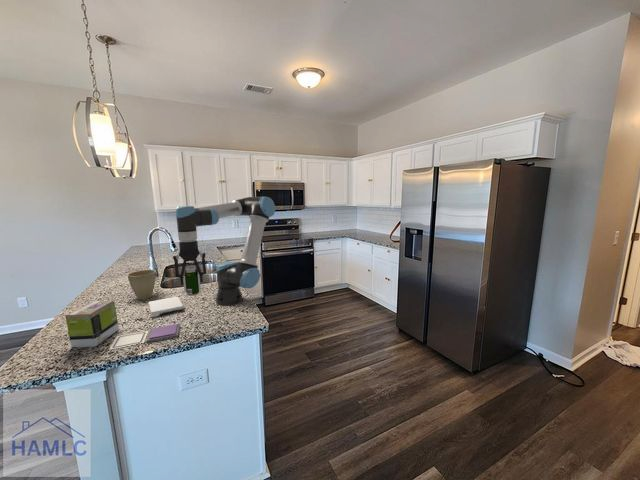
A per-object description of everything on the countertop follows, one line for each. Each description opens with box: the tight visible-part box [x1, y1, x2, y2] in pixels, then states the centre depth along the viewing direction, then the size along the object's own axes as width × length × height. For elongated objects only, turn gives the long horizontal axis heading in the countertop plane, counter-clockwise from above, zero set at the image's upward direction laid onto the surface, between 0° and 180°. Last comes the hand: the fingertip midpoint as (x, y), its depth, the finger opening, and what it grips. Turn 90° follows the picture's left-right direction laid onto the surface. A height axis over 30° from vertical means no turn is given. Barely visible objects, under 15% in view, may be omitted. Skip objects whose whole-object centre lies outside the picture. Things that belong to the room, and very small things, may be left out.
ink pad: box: [145, 323, 181, 344], centre depth 122 cm, size 12×12×2 cm
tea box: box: [65, 300, 120, 348], centre depth 118 cm, size 15×10×15 cm
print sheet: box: [108, 330, 149, 351], centre depth 117 cm, size 12×12×1 cm
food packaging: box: [148, 296, 185, 318], centre depth 151 cm, size 15×3×20 cm
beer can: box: [184, 267, 200, 297], centre depth 124 cm, size 5×5×12 cm
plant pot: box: [126, 269, 157, 300], centre depth 168 cm, size 15×15×16 cm
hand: (192, 290), depth 125 cm, fingers closed on beer can, 5 cm apart
